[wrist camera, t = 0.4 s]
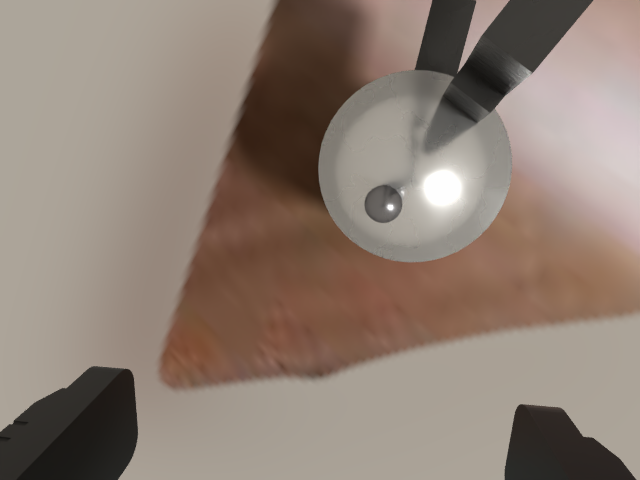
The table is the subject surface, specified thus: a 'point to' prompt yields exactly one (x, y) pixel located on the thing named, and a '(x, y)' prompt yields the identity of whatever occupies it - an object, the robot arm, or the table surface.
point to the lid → (435, 142)
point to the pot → (445, 36)
